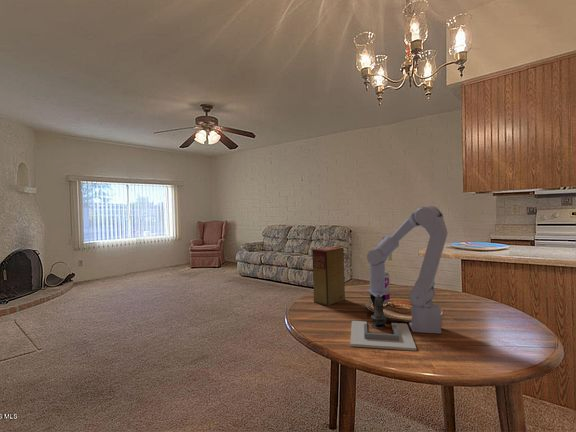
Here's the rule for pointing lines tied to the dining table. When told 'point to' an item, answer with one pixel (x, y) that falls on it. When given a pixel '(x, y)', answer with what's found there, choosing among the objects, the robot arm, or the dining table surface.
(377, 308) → the black chess piece
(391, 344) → the board
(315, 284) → the food packaging
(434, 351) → the dining table surface
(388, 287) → the supplement can
